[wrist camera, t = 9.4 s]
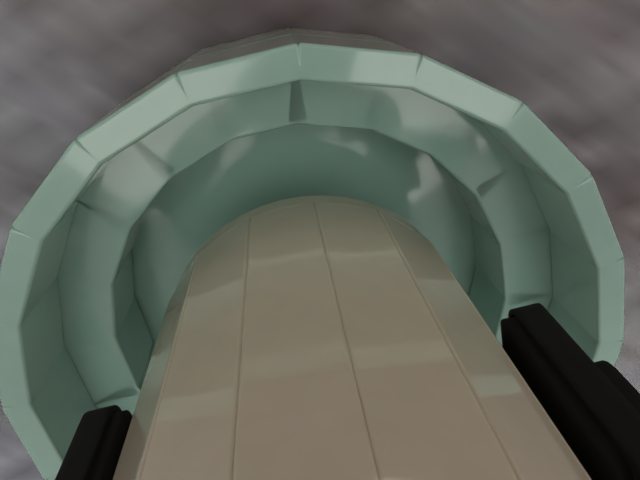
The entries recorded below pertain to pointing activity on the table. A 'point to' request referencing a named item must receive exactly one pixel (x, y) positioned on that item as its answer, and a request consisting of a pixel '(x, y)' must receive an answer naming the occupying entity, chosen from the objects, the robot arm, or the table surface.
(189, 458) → the cup
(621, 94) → the table surface
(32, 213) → the bowl
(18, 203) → the table surface
